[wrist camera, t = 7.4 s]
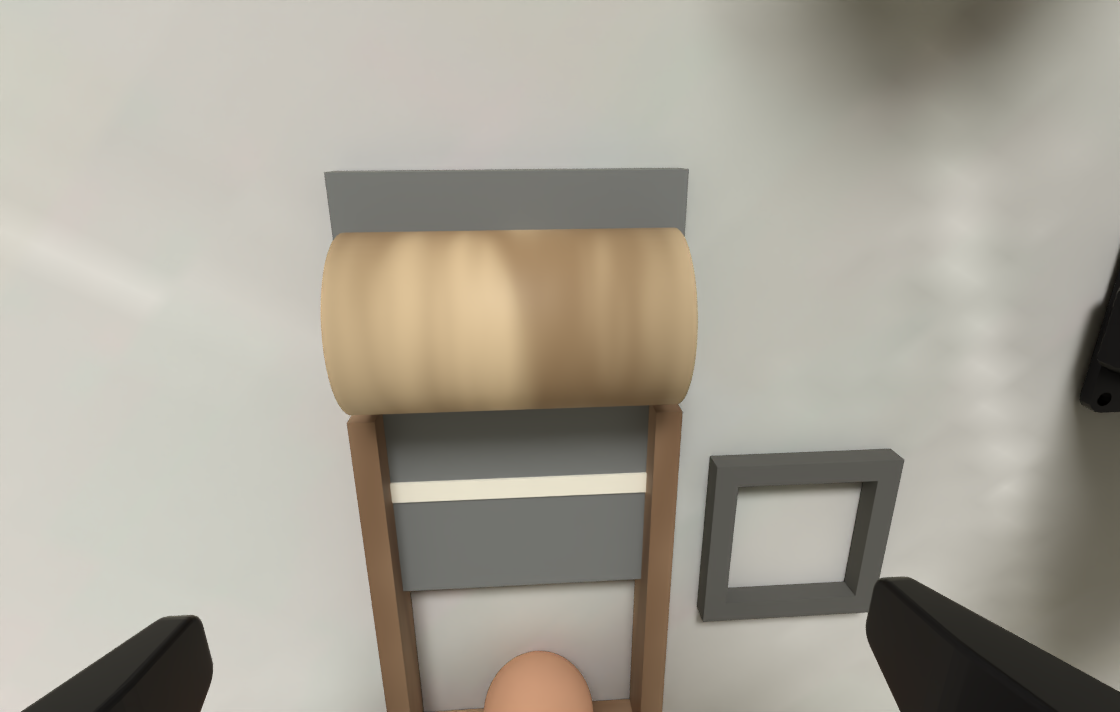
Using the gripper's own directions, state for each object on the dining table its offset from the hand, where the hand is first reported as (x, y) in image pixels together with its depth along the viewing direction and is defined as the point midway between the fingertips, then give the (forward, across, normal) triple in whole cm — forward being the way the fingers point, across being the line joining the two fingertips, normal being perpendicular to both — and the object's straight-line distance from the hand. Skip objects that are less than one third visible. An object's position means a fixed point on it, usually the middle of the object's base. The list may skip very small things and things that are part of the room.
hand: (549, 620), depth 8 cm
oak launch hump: (+12, 0, -1) cm, 12 cm away
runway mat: (+12, 0, +2) cm, 12 cm away
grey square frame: (+12, -10, +8) cm, 17 cm away
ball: (+10, 0, +12) cm, 16 cm away
